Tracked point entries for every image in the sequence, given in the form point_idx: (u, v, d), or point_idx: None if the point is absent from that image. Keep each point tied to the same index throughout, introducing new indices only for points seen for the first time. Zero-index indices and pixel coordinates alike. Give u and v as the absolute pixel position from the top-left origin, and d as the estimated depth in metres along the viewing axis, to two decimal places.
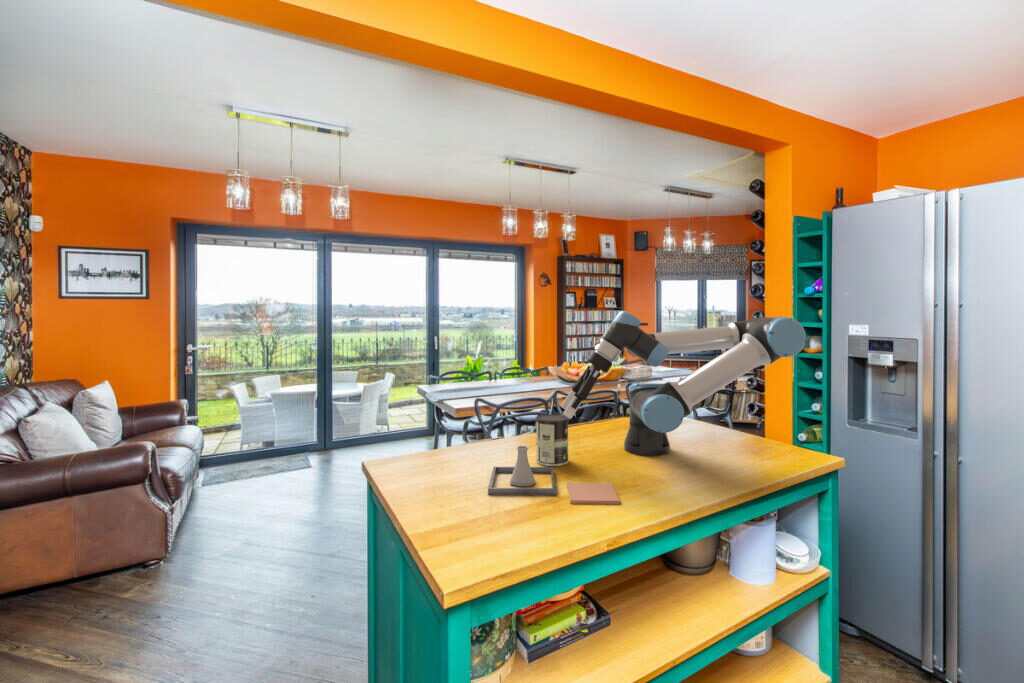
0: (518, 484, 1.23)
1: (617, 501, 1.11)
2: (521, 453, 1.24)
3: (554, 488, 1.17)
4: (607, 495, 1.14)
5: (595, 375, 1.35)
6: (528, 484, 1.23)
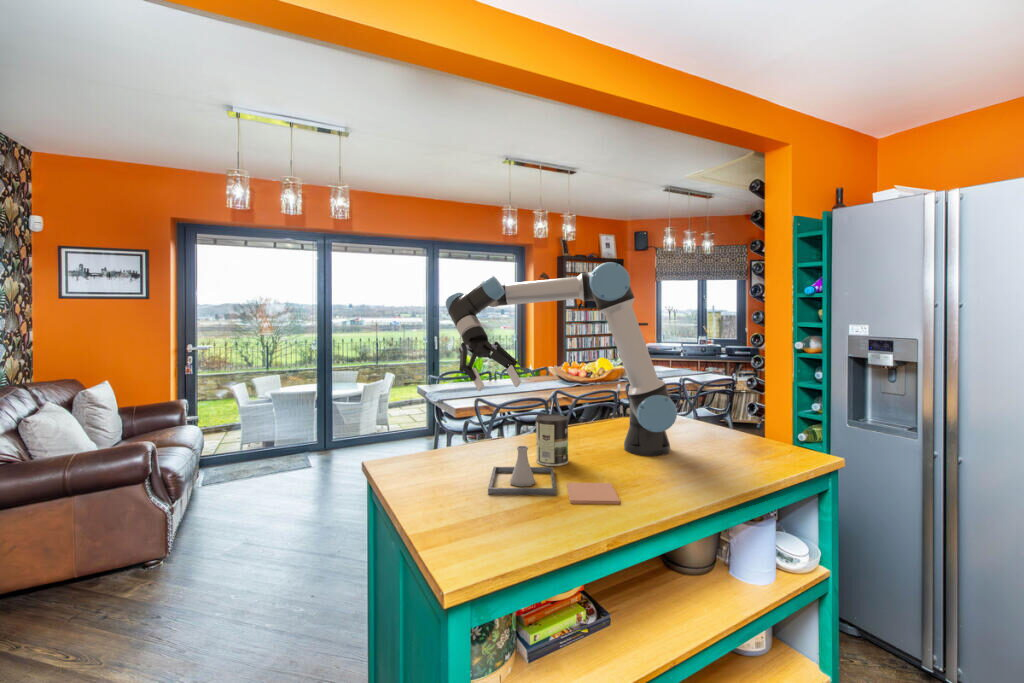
0: (518, 484, 1.23)
1: (617, 501, 1.11)
2: (521, 453, 1.24)
3: (554, 488, 1.17)
4: (607, 495, 1.14)
5: (461, 348, 1.36)
6: (528, 484, 1.23)
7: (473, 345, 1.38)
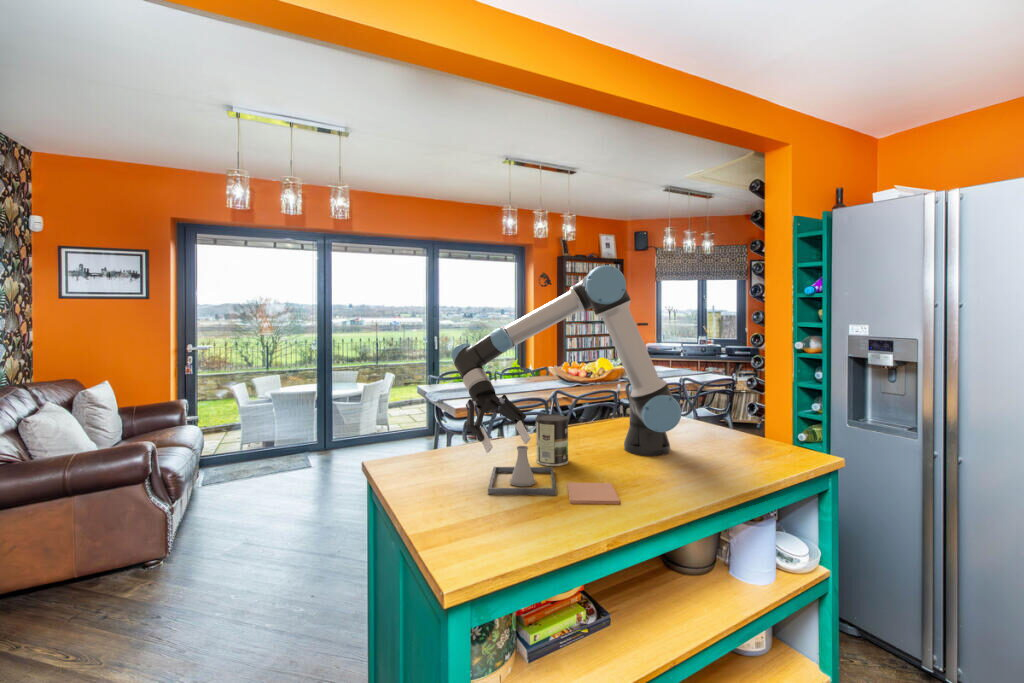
0: (518, 484, 1.23)
1: (617, 501, 1.11)
2: (521, 453, 1.24)
3: (554, 488, 1.17)
4: (607, 495, 1.14)
5: (468, 405, 1.32)
6: (528, 484, 1.23)
7: (480, 401, 1.34)
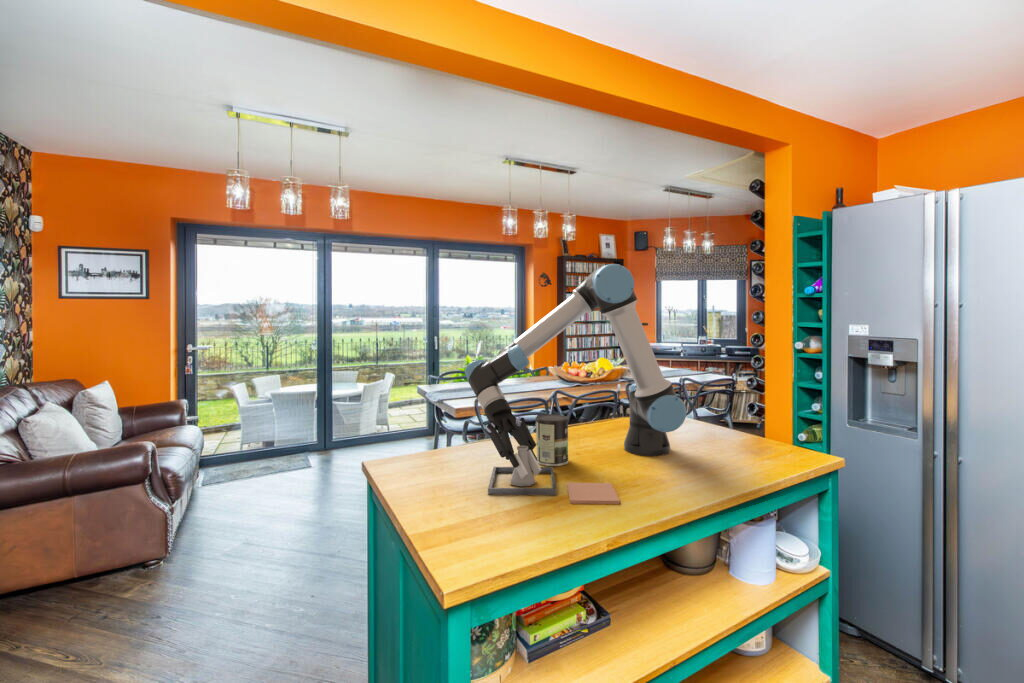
0: (518, 484, 1.23)
1: (617, 501, 1.11)
2: (521, 453, 1.24)
3: (554, 488, 1.17)
4: (607, 495, 1.14)
5: (489, 430, 1.27)
6: (528, 484, 1.23)
7: (497, 420, 1.29)
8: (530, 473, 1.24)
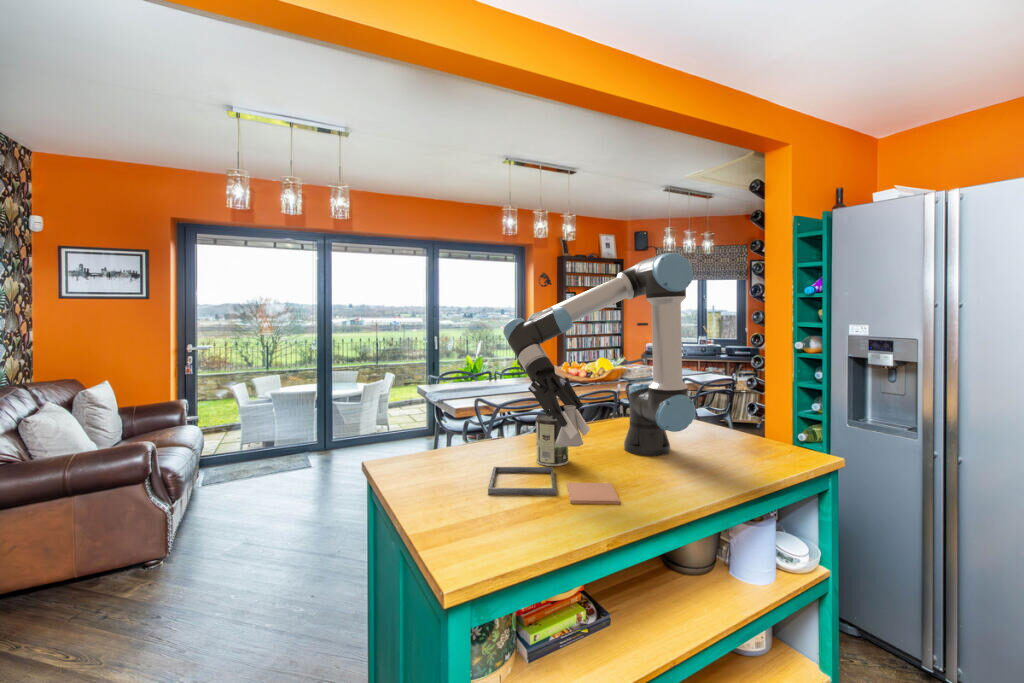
0: (566, 444, 1.15)
1: (617, 501, 1.11)
2: (568, 412, 1.17)
3: (554, 488, 1.17)
4: (607, 495, 1.14)
5: (533, 389, 1.19)
6: (577, 444, 1.15)
7: (541, 379, 1.22)
8: (578, 433, 1.17)
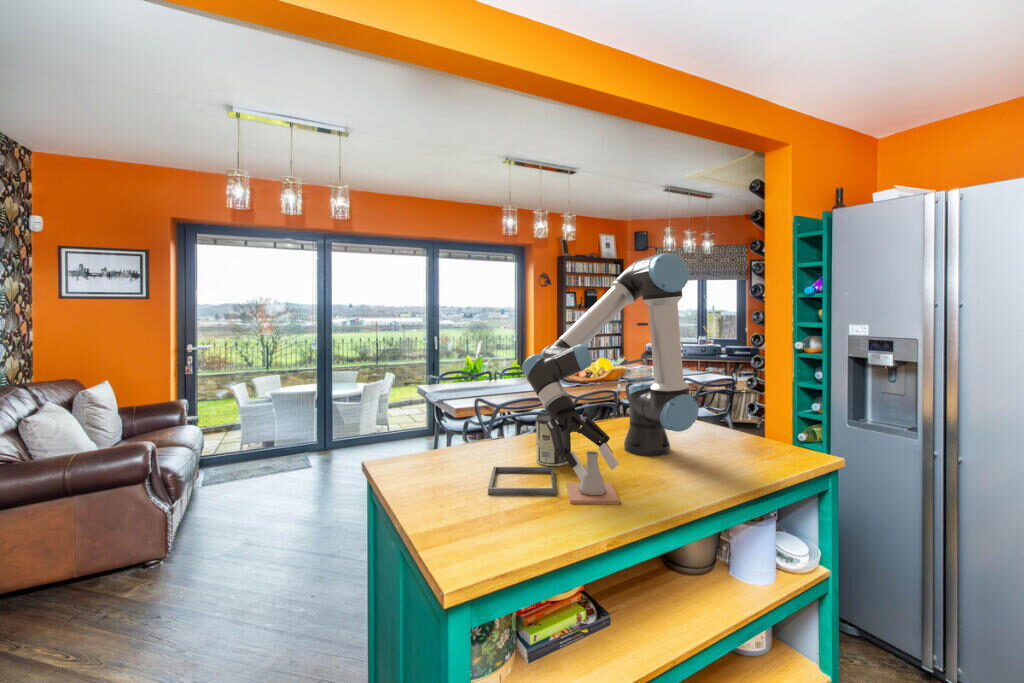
0: (590, 493, 1.14)
1: (617, 501, 1.11)
2: (592, 459, 1.16)
3: (554, 488, 1.17)
4: (607, 495, 1.14)
5: (551, 425, 1.18)
6: (601, 493, 1.14)
7: (562, 419, 1.20)
8: (601, 481, 1.16)
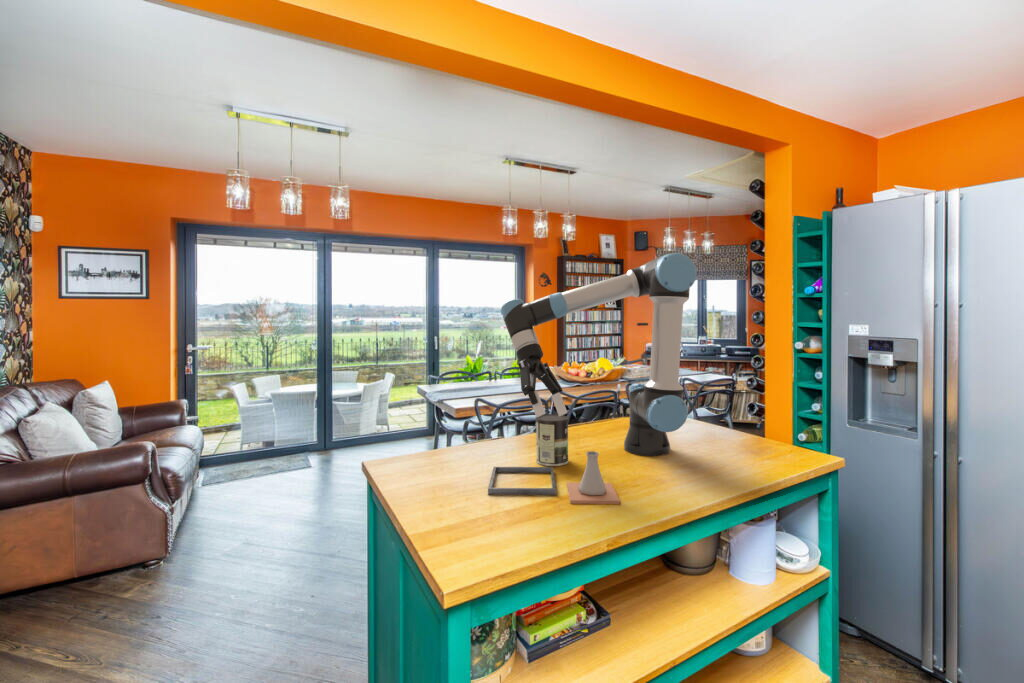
0: (590, 493, 1.14)
1: (617, 501, 1.11)
2: (592, 459, 1.16)
3: (554, 488, 1.17)
4: (607, 495, 1.14)
5: (522, 364, 1.28)
6: (601, 493, 1.14)
7: (532, 364, 1.31)
8: (601, 481, 1.16)
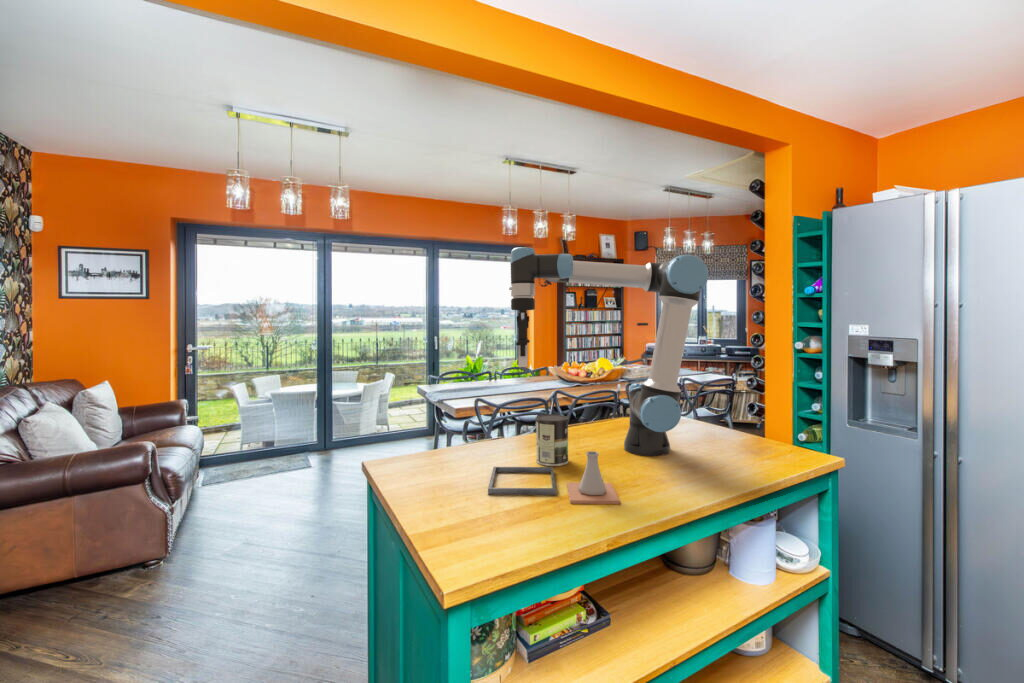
0: (590, 493, 1.14)
1: (617, 501, 1.11)
2: (592, 459, 1.16)
3: (554, 488, 1.17)
4: (607, 495, 1.14)
5: (523, 317, 1.37)
6: (601, 493, 1.14)
7: None
8: (601, 481, 1.16)
